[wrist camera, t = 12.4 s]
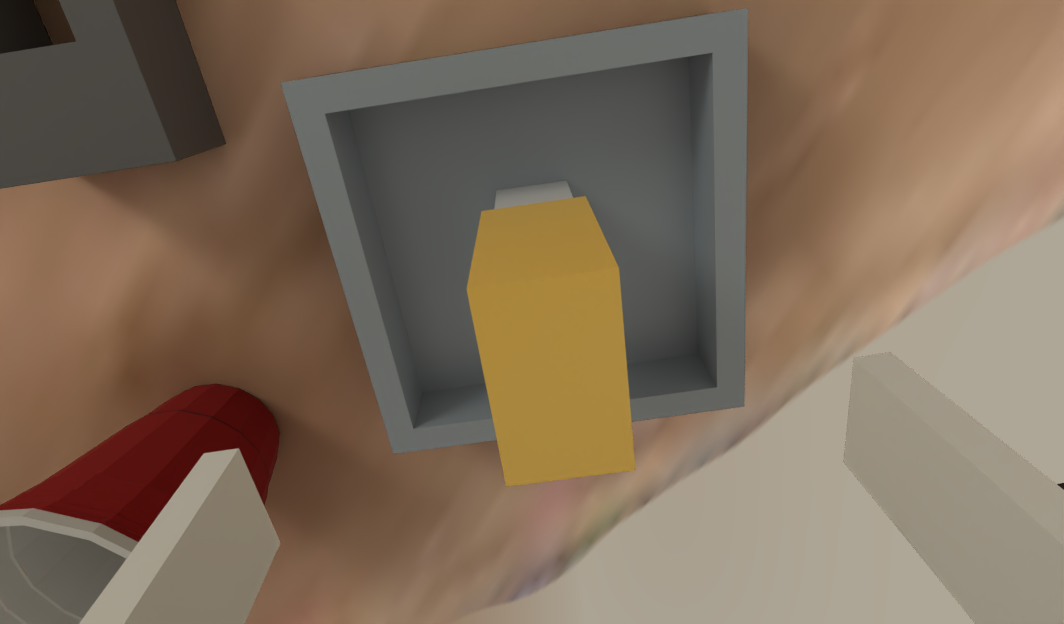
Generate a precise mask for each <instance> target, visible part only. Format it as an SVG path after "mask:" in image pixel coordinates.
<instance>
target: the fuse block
mask: <svg viewBox="0 0 1064 624" xmlns="http://www.w3.org/2000/svg"><path fill="white" fill-rule="evenodd" d="M59 2H60V5H61V7H62V9H63V12H64V14H65V16H66V19H67V21H68V23H69V26H70V28H71V30H72V33H73V35H74V37H75V40H76V41H75V42H69V43H63V44H57V45H52V43H51V41H50V39H49V36H48V34H47V32H46V30H45V27H44V25H43V23H42V21H41V18H40V16H39V14H38V12H37V9H36V7H35V5H34V3H33V0H0V189H1V188H8V187H14V186H20V185H27V184H33V183H40V182H46V181H52V180H59V179H65V178H72V177H78V176H85V175H91V174H97V173H104V172H110V171H117V170H123V169H129V168H136V167H142V166H149V165H155V164H162V163H168V162H174V161H178V160H181V159H184V158H187V157H190V156H192V155H195V154H198V153H201V152H204V151H207V150H209V149H212V148H215V147H218V146H221V145H224V144H226V142H225V139H224V137H223V134H222V131H221V128H220V125H219V122H218V120H217V117H216V114H215V111H214V108H213V106H212V103H211V100H210V97H209V94H208V92H207V89H206V86H205V83H204V80H203V77H202V75H201V72H200V69H199V66H198V63H197V61H196V58H195V55H194V52H193V49H192V47H191V44H190V41H189V38H188V35H187V32H186V30H185V27H184V24H183V21H182V18H181V16H180V13H179V10H178V7H177V4H176V2H175V0H59Z"/></svg>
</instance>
